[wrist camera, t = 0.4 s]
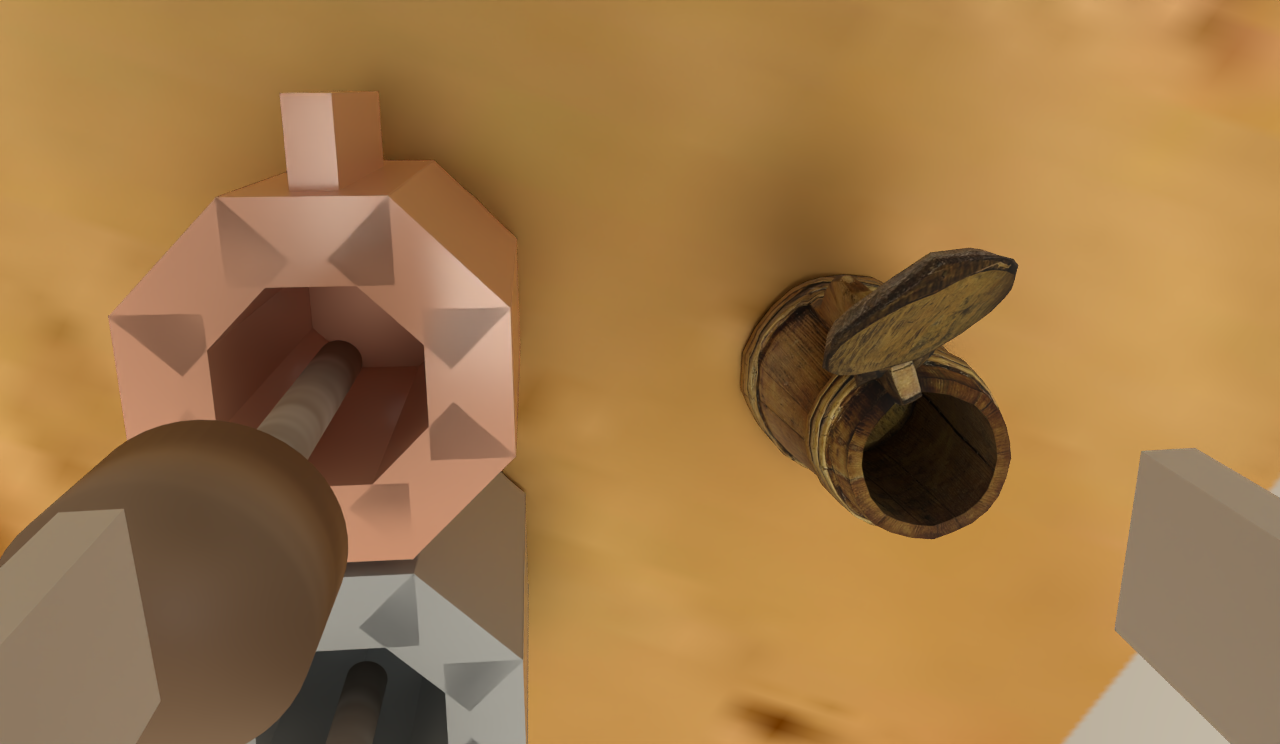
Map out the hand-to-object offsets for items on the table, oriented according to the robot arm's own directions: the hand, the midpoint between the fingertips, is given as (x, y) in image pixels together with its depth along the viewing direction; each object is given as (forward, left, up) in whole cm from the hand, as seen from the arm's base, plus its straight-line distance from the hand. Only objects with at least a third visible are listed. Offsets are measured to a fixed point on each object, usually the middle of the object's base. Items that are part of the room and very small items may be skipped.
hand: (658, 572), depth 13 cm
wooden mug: (+4, +11, -31) cm, 33 cm away
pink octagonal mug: (+1, -8, -30) cm, 31 cm away
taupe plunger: (+2, -8, -19) cm, 21 cm away
